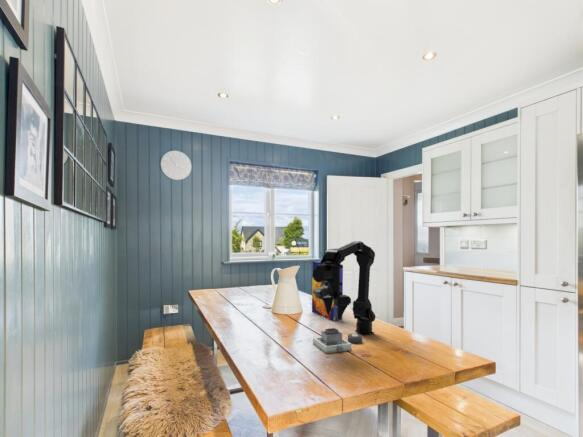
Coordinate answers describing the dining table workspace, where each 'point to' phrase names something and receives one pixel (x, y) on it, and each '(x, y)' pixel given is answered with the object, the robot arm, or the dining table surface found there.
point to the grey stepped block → (331, 337)
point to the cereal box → (317, 303)
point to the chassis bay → (332, 346)
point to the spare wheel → (354, 338)
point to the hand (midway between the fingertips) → (333, 316)
